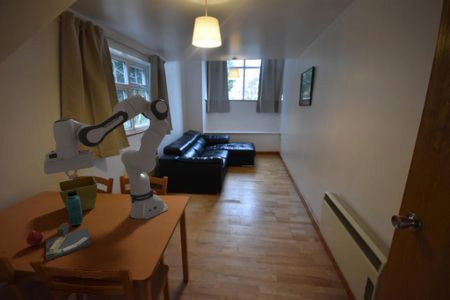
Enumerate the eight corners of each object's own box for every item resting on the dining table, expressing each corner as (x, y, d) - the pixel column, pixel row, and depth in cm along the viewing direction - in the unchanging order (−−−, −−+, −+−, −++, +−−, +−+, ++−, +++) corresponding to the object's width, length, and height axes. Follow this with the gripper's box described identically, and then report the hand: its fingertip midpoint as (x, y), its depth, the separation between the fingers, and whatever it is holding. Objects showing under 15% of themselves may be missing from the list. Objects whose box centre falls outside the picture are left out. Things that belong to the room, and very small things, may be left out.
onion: (25, 247, 100) (21, 232, 98) (39, 240, 105) (36, 225, 103) (32, 250, 98) (29, 235, 96) (46, 243, 103) (43, 228, 101)
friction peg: (69, 234, 108) (67, 222, 106) (55, 253, 94) (53, 241, 93) (64, 234, 107) (62, 223, 106) (49, 254, 93) (47, 242, 92)
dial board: (87, 229, 114) (87, 227, 114) (92, 245, 102) (91, 242, 102) (46, 242, 104) (46, 239, 104) (46, 260, 92) (45, 258, 92)
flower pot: (63, 218, 125) (59, 191, 121) (62, 206, 139) (58, 182, 136) (100, 208, 137) (97, 184, 133) (95, 198, 151) (92, 175, 147)
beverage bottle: (67, 226, 117) (61, 192, 112) (78, 220, 123) (73, 188, 118) (75, 229, 115) (69, 194, 110) (86, 222, 121) (81, 189, 116)
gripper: (91, 148, 113) (95, 172, 116) (41, 153, 101) (46, 181, 104) (93, 150, 108) (96, 176, 111) (40, 156, 96) (46, 185, 99)
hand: (72, 178), depth 108 cm, fingers closed
